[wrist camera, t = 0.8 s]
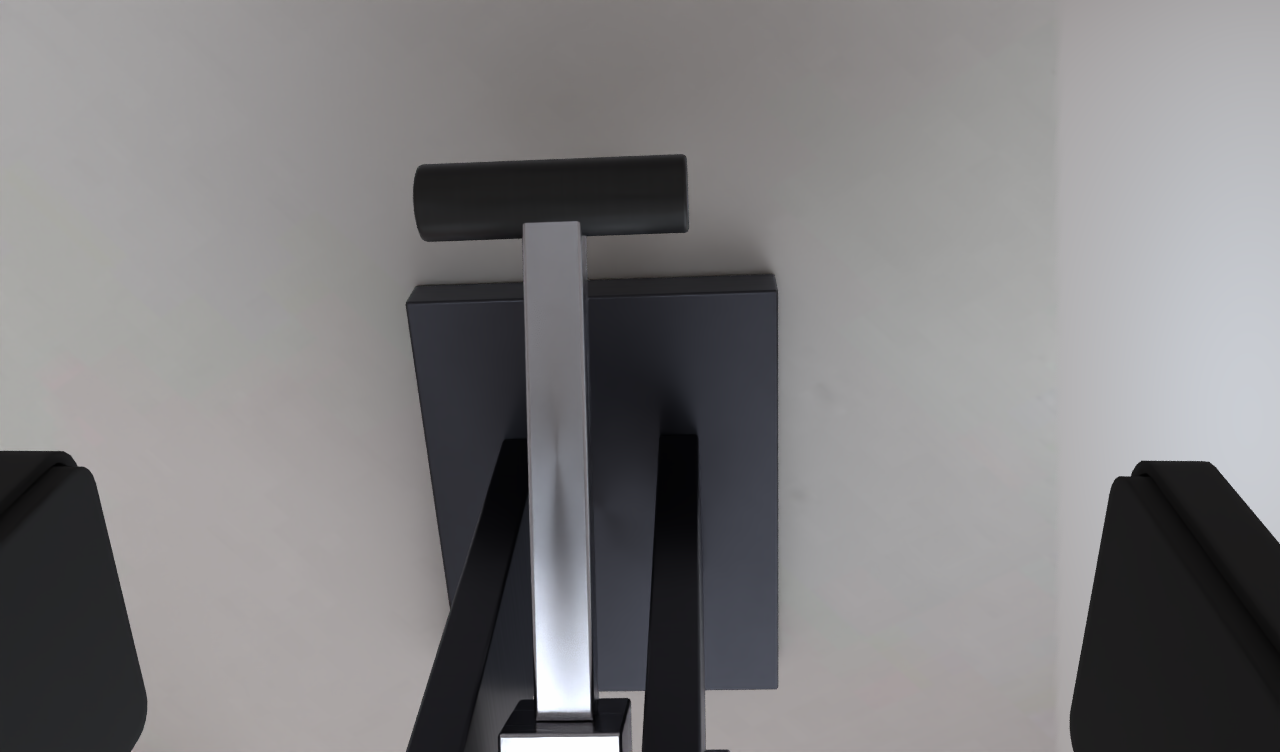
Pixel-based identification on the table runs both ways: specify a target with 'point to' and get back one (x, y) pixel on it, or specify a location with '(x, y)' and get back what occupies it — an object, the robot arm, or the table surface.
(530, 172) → the lever
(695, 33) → the table surface
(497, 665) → the bracket
